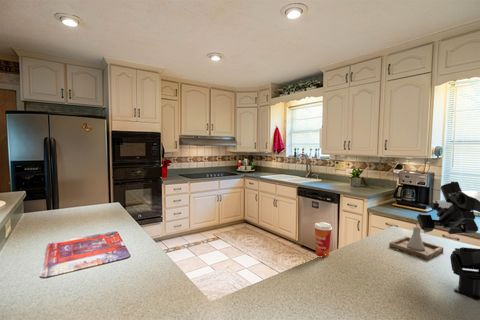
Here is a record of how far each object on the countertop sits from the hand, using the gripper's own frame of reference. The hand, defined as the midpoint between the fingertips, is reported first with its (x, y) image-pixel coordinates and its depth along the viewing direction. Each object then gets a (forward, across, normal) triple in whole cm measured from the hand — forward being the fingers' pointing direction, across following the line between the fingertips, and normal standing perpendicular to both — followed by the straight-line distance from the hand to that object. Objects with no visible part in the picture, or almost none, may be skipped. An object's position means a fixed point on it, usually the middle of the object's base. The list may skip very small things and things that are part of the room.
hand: (436, 232), depth 102 cm
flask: (+19, +1, -1) cm, 19 cm away
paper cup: (+9, +45, +10) cm, 47 cm away
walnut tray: (+20, +1, 0) cm, 20 cm away
